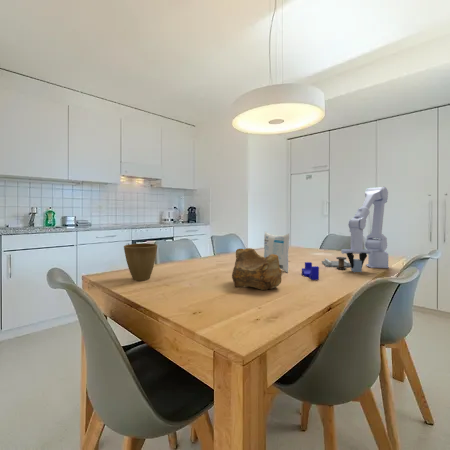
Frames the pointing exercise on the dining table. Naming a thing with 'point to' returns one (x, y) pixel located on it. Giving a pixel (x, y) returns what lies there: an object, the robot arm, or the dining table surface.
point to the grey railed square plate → (335, 263)
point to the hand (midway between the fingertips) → (356, 267)
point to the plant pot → (140, 260)
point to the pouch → (277, 248)
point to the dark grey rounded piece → (341, 263)
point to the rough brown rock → (256, 270)
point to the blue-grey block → (357, 265)
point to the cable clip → (311, 271)
